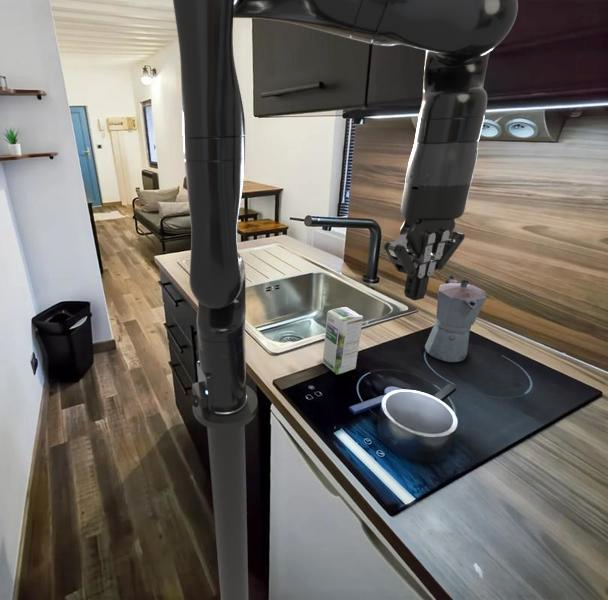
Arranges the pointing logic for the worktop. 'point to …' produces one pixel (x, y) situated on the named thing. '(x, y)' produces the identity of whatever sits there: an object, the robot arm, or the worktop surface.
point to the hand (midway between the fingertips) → (413, 297)
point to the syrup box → (342, 339)
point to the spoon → (371, 402)
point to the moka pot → (454, 319)
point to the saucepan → (418, 424)
